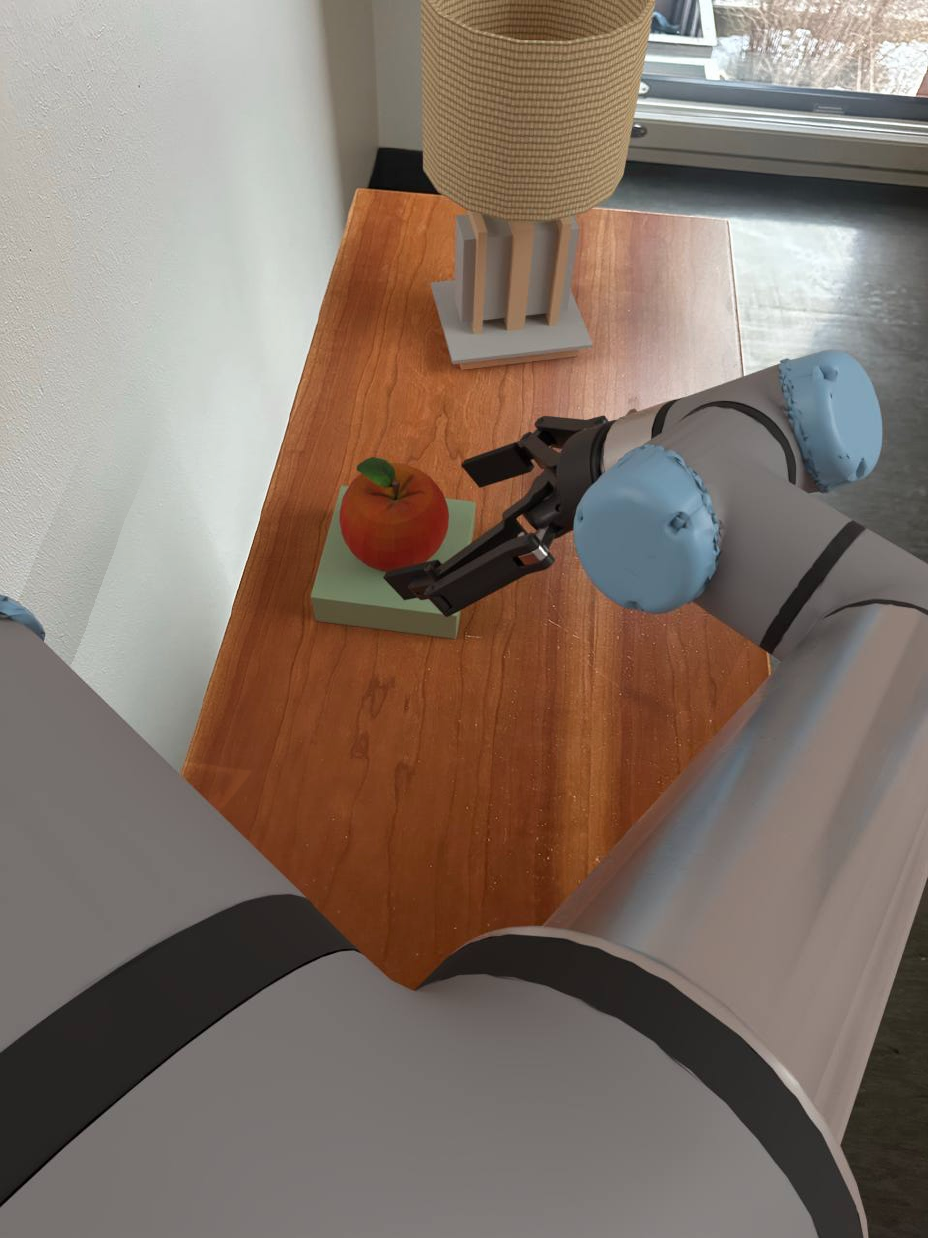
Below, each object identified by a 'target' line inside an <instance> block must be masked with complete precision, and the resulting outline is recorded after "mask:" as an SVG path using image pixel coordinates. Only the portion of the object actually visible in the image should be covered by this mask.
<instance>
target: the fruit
mask: <svg viewBox="0 0 928 1238" xmlns="http://www.w3.org/2000/svg"><path fill="white" fill-rule="evenodd" d="M356 471H357V472H358V473H360V474H359V475H357V476H356V477H355V478H353V480H352V481H351V483H350V484H349V485H348V486H349V487H348V489H347V490H346V492H345V494H344V496H343V499H342V503H341V508H340V517H339V521H340V527H341V532H342V536H343V539H344V541H345V543H346V545H347V546H348V548H349V549H350V551H351V552H352V554H353V555H355V556H356V557H357V558H358V559H359V560H360V561H362V562H363V563H364V564H366V565H367V566H369V567H371V568H374V569H377V570H380V571H384V572H387V571H390V570H394V569H398V568H403V567H407V566H411V565H416V564H420V563H424V562H427V561H428V560H429V559H430V558H431V557H432V556H433V555H434V554H435V553H436V552H437V551H438V549H439V548H440V546H441V544H442V543H443V541H444V539H445V537H446V534H447V530H448V523H449V511H448V505H447V503H446V500H445V498H446V497H445V495H444V493H443V491H442V489H441V488H440V487H439V486H438V484H437V483H436V482H435V481H434V480H433V478H432V477H431V476H430V475H428V474H427V473H425V472H424V471H423V470H421V469H420V468H417V467H415V466H412V465H409V464H406V463H400V462H389V461H387V460H386V459H384V458H380V457H375V456H372V457H368V458H366V459H364V460H363V461H362V462H360V463H358V464H357V466H356Z"/></svg>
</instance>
